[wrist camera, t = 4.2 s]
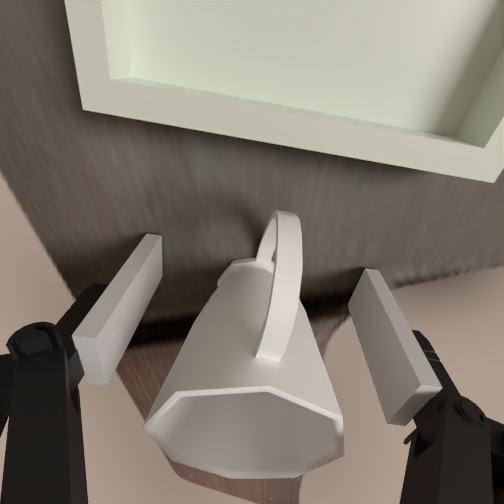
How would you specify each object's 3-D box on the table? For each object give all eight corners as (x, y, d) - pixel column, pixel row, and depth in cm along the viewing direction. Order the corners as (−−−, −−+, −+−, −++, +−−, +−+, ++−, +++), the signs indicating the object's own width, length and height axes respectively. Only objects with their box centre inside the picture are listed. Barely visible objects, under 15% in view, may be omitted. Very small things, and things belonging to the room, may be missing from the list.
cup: (191, 317, 18) (144, 468, 11) (206, 163, 12) (132, 282, 6) (297, 335, 18) (313, 491, 12) (358, 195, 13) (456, 340, 6)
